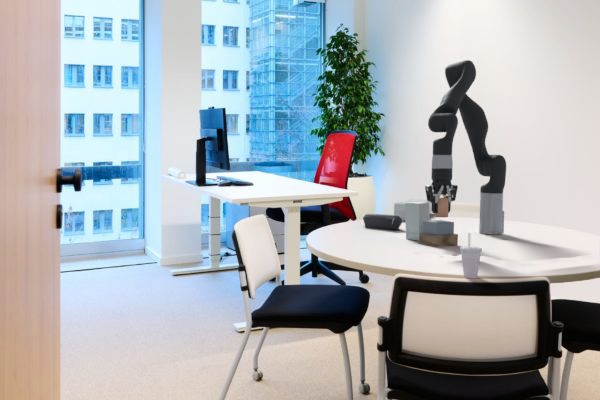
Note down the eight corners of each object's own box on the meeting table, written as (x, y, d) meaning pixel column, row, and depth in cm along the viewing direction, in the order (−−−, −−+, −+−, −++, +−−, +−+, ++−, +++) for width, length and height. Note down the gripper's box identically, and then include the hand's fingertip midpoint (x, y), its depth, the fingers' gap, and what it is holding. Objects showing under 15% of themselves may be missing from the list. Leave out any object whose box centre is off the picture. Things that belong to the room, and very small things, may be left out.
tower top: (439, 231, 245) (439, 220, 245) (453, 234, 238) (453, 222, 237) (422, 232, 241) (423, 220, 241) (436, 235, 234) (436, 222, 234)
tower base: (439, 242, 247) (440, 231, 246) (457, 246, 238) (457, 234, 237) (419, 244, 242) (419, 232, 242) (436, 247, 233) (436, 235, 233)
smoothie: (463, 277, 197) (464, 231, 196) (484, 279, 194) (485, 233, 193) (456, 280, 192) (457, 233, 191) (477, 282, 188) (478, 234, 188)
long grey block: (415, 227, 300) (416, 204, 299) (393, 225, 304) (394, 203, 303) (431, 221, 329) (431, 200, 328) (411, 220, 333) (411, 199, 333)
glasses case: (405, 232, 279) (405, 214, 278) (396, 234, 270) (396, 216, 269) (368, 229, 288) (368, 212, 287) (357, 231, 279) (357, 213, 278)
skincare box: (430, 240, 251) (431, 202, 250) (419, 241, 248) (419, 203, 247) (415, 238, 258) (416, 201, 257) (404, 239, 255) (404, 201, 254)
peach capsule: (441, 215, 242) (442, 197, 242) (451, 217, 238) (451, 198, 237) (430, 216, 240) (431, 197, 239) (440, 217, 235) (440, 198, 235)
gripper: (450, 167, 244) (449, 211, 245) (420, 167, 237) (419, 212, 238) (463, 167, 237) (462, 213, 239) (433, 167, 231) (432, 214, 232)
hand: (440, 212), depth 239 cm, fingers closed on peach capsule, 5 cm apart
